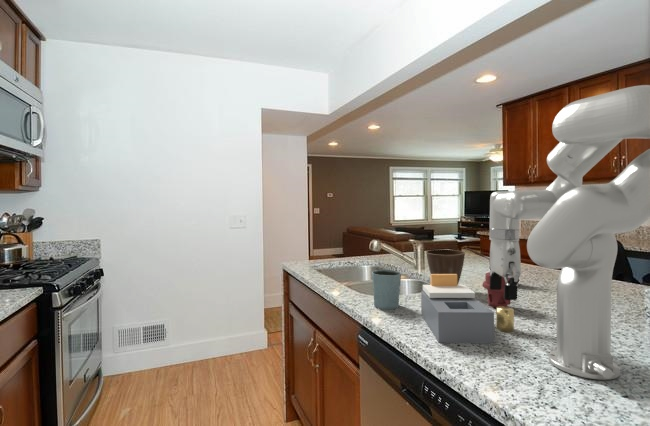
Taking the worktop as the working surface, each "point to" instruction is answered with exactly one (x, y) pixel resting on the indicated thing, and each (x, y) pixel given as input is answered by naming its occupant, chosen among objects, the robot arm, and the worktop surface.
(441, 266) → the plant pot
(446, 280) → the lid
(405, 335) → the worktop surface
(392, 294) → the blue-grey cup
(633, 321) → the worktop surface
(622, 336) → the worktop surface
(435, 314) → the housing
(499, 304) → the mechanical component
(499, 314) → the peg
